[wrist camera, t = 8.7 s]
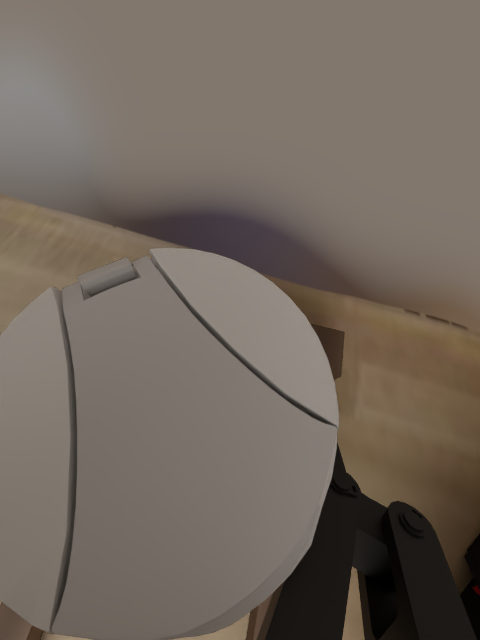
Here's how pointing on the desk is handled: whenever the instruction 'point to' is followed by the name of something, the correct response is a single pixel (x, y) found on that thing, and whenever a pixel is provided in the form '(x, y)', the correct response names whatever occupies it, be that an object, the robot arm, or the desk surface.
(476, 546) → the electrical component
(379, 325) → the desk surface
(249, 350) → the coffee cup
